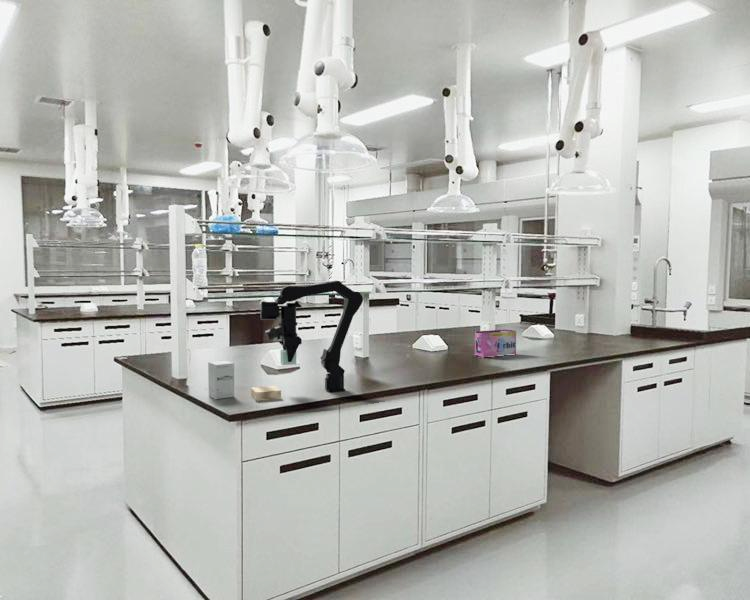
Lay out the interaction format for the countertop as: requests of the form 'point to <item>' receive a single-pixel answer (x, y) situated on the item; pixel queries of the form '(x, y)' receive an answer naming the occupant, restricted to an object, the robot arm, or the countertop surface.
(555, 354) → the countertop surface
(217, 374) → the supplement box
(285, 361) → the teal cube
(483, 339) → the gum box
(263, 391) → the beech block
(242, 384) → the countertop surface
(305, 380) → the countertop surface
